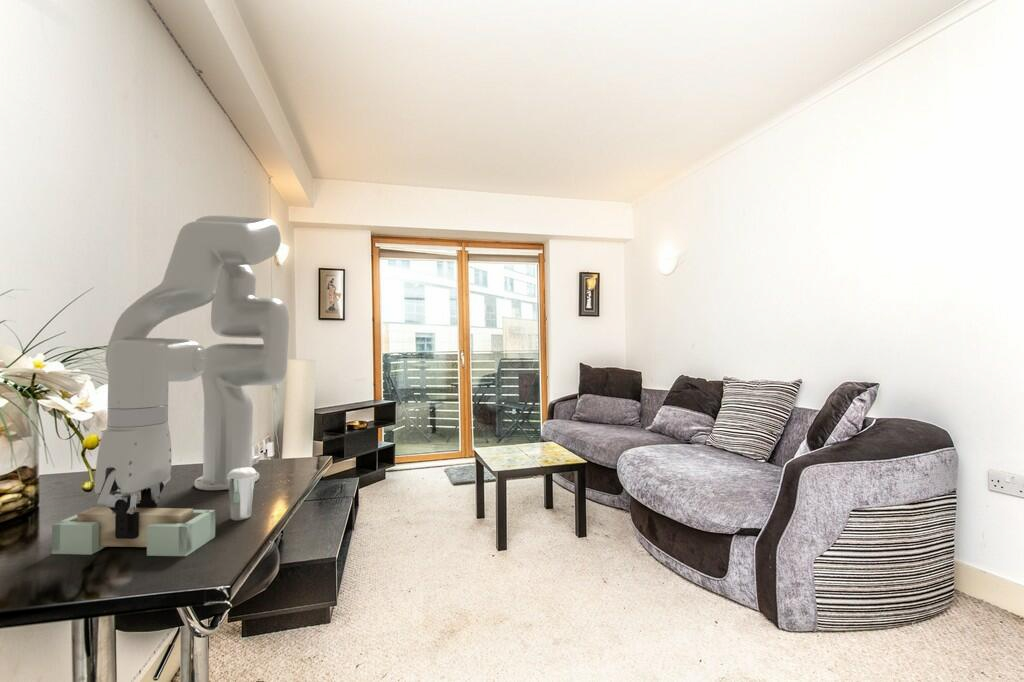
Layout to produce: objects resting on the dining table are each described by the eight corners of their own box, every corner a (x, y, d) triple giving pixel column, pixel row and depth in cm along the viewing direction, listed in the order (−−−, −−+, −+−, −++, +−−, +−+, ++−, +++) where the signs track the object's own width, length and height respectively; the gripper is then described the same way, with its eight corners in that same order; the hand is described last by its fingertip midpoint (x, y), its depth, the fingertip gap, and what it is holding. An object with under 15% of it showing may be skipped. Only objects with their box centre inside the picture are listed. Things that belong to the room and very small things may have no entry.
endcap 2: (215, 536, 78) (215, 510, 78) (186, 556, 71) (186, 526, 71) (179, 536, 78) (179, 509, 78) (146, 555, 71) (147, 526, 71)
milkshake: (256, 509, 90) (256, 458, 90) (254, 519, 85) (255, 465, 85) (228, 513, 88) (229, 460, 88) (225, 523, 83) (226, 467, 83)
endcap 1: (52, 553, 71) (52, 524, 71) (92, 534, 78) (93, 507, 78) (91, 554, 71) (91, 525, 71) (128, 535, 78) (129, 508, 78)
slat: (76, 545, 73) (77, 513, 73) (94, 537, 76) (94, 506, 76) (179, 547, 73) (180, 515, 73) (192, 539, 76) (193, 508, 76)
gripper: (154, 409, 82) (152, 513, 82) (65, 426, 66) (63, 556, 66) (196, 410, 82) (194, 514, 82) (119, 427, 66) (116, 557, 66)
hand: (136, 531), depth 74 cm, fingers closed on slat, 3 cm apart
